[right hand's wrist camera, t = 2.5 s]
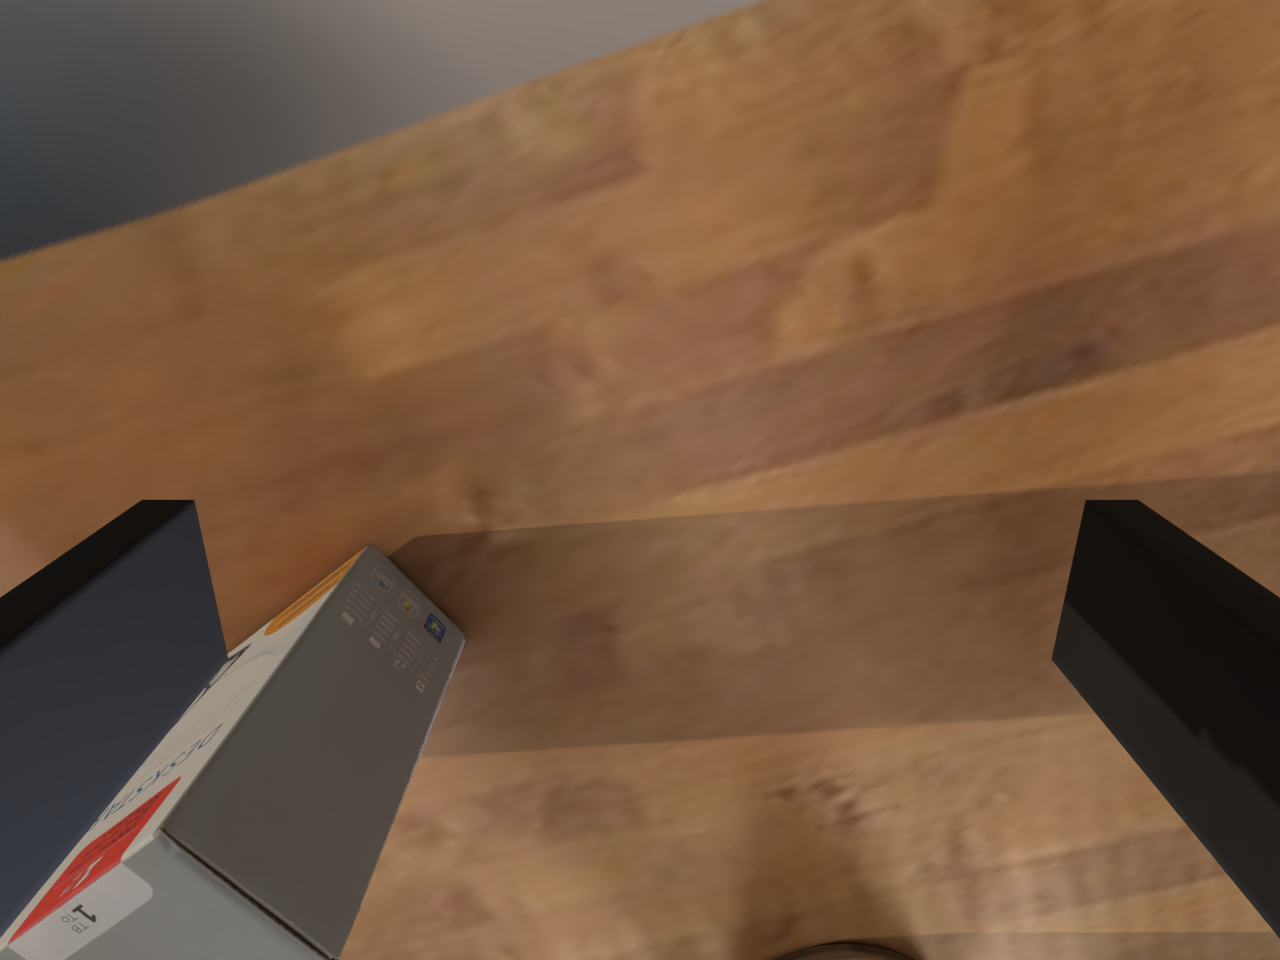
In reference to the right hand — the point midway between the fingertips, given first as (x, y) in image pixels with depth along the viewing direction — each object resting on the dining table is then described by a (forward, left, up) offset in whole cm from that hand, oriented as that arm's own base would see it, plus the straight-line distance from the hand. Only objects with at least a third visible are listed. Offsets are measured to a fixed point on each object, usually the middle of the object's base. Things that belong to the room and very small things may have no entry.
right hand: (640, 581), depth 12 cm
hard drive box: (-20, +18, -28) cm, 39 cm away
